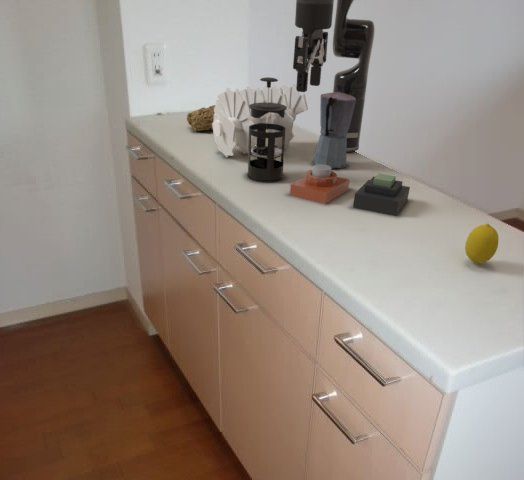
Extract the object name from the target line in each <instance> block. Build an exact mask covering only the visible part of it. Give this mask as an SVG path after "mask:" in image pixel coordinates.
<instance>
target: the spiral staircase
mask: <svg viewBox="0 0 524 480" xmlns="http://www.w3.org/2000/svg"><path fill="white" fill-rule="evenodd" d="M296 86H297V85H296V84H292V85H291V86H290V85H288V84H286V83H282V84H281V87H279V88H277V87H276V85H272V87H271V88H269V103H278V104H282V105H285V106H286V107H287V109H286V110H285V113H284V118H282V117H281V116H280V115H279V114H278V113H271V112H269V113H268V124H277V125H281V126H283V127H285V146H284V149H286V148H287V149H288V148H291V143H290V142H291V141H292V140H293V138H294V137H295V134H294V132H293V127H294V122H295V121H296V119H297V115H300V114H302V113H304V112H306V111H308V110H309V107H308V102H307V98H306V94H305V93H302V94H301V92H298V91H297V90H296ZM217 98H218V99H217V100H216V102H215V104H214V105H215V108H214V113H215V114H214V122H213V123H212V127H213V129H212V132H213V138H214V141H215V143H216V146H217V148H218V150H219V152H221V154H223V156H225V158H227V159H228V158H229V156H232V157H233V156H235V148H236V147H237V148H238V149H239V150H240V151H241V152H242V153H243V154H244V155H246V154H248V145H249V126H250V125H253V124H257V123H267V114H265V115H263V116H262V117H260V118H254V117H252V116H251V109H250V108H249V105H250V104H254V103H267V101H268V88H267V86H265V85H263V86H262V89H261V90H260V87H258V88H256V89H255V88H253V86H250V85H249V84H248V85H246V88H244V89H242V90H239V88H236V89H235V91H234V90H233V89H231V88H229V87H226V88H225V91H223V92H221V93H220V94H218V95H217ZM255 131H257V130H255ZM268 132H280V131H278V130H273V129H268ZM254 146H256V147H257V137H255V136H252V135H251V149H252V148H254ZM265 146H266V142H265ZM267 146H268V139H267ZM275 146H276V147H277V148H278V149H281V150H282V137H279V138H275Z"/></svg>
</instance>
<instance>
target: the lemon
mask: <svg viewBox="0 0 524 480" xmlns="http://www.w3.org/2000/svg"><path fill="white" fill-rule="evenodd" d="M498 247H499V234H498V232H497V230H496V229H495V228H494V227H493V226H492V225H490V223H485V224H480V225H478V226H476V227H474V228H472V230H471V231H470V233H469V234H468V236H467V239H466V241H465V245H464V250H465V254H466V256H467V258H468V259H469V260H470V261H471V262H473V264H474V265H479V264H482V263H483V264H484V263H486V262H488V261H490V260H491V259H492V258H493V257H494V256H495V254H496V253H497V250H498Z"/></svg>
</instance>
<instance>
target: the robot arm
mask: <svg viewBox="0 0 524 480" xmlns="http://www.w3.org/2000/svg"><path fill="white" fill-rule="evenodd" d="M354 1H355V0H336V6H335V7H336V8H335V14H333V13H334V3H335V0H296V1H295V16H294V17H295V18H294V20H295V21H294V26H295V27H296V28H299V29H302V31H301V35H296V36H295V38H294V50H293V61H292V69H293V70H295V71H296V85H295V86H296V90H297V91H298V92H299V93H306V92H307V91H308V83H309V85H310V86H312V87H313V86H314V87H318V86H320V85H321V78H322V77H321V76H322V68H323V66H324V64H325V63H326V62H327V55H328V43H329V42H328V41H329V32H328V31H324V30H329V29H331V28H332V24H333V15H334V24H333V34H332V53H333V56H334V57H337V58H341V59H355V60H358V61H357V63H356V64H355V65H353V66H352V67H350V68H347V69H344V70H341V71H338V72H336V73H335V75H334V78H333V87H332V88H333V89H332V92H337V85H342V86H343V88H342V91H341V92H342V93H345V94H348V95H351V96H353V97H355V99H356V103H355V107H354V111H353V115H352V119H351V123H350V127H349V129H348V132H347V136H346V138H347V148H346V153H351V152H357V151H358V150H359V148H360V137H361V131H362V123H363V117H364V108H365V102H366V101H365V100H366V94H367V93H366V92H367V84H368V77H369V69H370V62H371V56H372V51H373V47H374V46H373V45H374V41H375V33H376V32H375V31H376V28H375V24H374V21H372V20H370V19H356V18H348V14H349V11H350V9H351V7H352V4H353V3H354ZM309 71H310V73H309ZM309 74H310V77H309Z"/></svg>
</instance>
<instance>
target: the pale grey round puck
mask: <svg viewBox="0 0 524 480" xmlns="http://www.w3.org/2000/svg"><path fill="white" fill-rule="evenodd" d="M311 170H312V175H313V176H315V177H321V178H326V177H330V176H331V171H332V168H331V167H330V166H328V165H324V164H317V165H316V164H314V165H313V166H312V168H311Z"/></svg>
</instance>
